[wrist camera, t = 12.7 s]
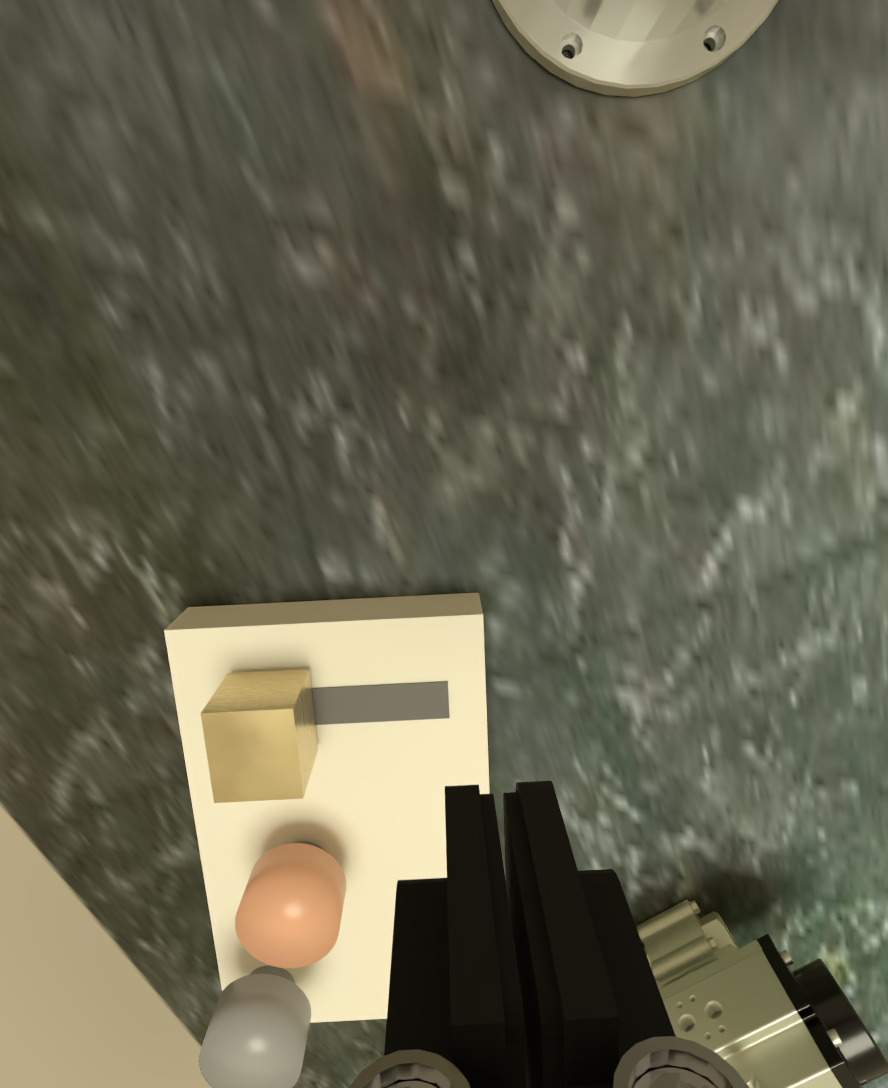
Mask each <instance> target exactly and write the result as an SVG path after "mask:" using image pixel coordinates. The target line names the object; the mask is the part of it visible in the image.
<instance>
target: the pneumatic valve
mask: <svg viewBox="0 0 888 1088" xmlns="http://www.w3.org/2000/svg"><path fill="white" fill-rule="evenodd" d="M700 912H701V911H700V909H699V907H698V905H697V903H696V902H695V901H692V902H689V901H688V900H685V901H683V902H681V903H679V904H677V905H675V906H673V907H671V908H669V909H668V910H666V911H664V912H662V913H660V914H658V915H656V916H654V917H652V918H650V919H649V920H647V921H645V922H643V923H641V924H639V925H637V928H638V929H637V931H638V934H639V936H640V939H641V942H642V943H643V942H644V945H645V947H644V950H645V953H646V956H647V958H648V961H649V964H650V967H651V969H652V972H653V975H654V978H655V980H656V983H657V986H658V989H659V991H660V994H661V997H662V1000H663V1002H664V1005H665V1008H666V1011H667V1013H668V1016H669V1019H670V1022H671V1024H672V1027H673V1030H674V1033H675V1035H676V1037H678V1038H682V1039H687V1040H691V1041H695V1042H697V1043H699V1044H700V1045H702V1046H704V1047H706V1048H708V1049H710V1050H712V1051H714V1052H716V1053H717V1054H718V1055H719V1056H721V1057H722V1058H723V1059H724V1060H725V1061H727V1062H728V1063H729V1064H730V1065H731V1066H732V1067H734V1068H735V1069H736V1071H737V1072H738V1073H739V1075H740V1076H741V1077H742V1079H743V1080H744V1081H745V1083H746V1084H747V1085H748V1087H749V1088H862V1086H863V1085H864V1084H866V1083H869V1082H871V1081H873V1080H875V1079H877V1078H879V1077H881V1076H883V1075H886V1074H888V1062H887V1060H886V1059H885V1057H884V1055H883V1054H882V1052H881V1051H880V1049H879V1047H878V1046H877V1044H876V1043H875V1041H874V1040H873V1038H872V1036H871V1035H870V1033H869V1032H868V1030H867V1029H866V1027H865V1025H864V1024H863V1022H862V1021H861V1019H860V1018H859V1016H858V1015H857V1013H856V1011H855V1010H854V1008H853V1007H852V1005H851V1004H850V1002H849V1001H848V999H847V998H846V996H845V994H844V993H843V991H842V990H841V988H840V987H839V985H838V984H837V982H836V981H835V979H834V978H833V976H832V975H831V973H830V972H829V970H828V969H827V967H826V966H825V964H824V963H823V961H822V960H821V959H816V960H814V961H812V962H810V963H808V964H806V965H804V966H802V967H800V968H798V969H796V970H794V971H791V969H790V968H789V965H791V964H793V963H794V961H793V960H792V958H791V956H790V955H789V953H788V952H787V950H784V951H782V952H779V950H778V949H777V947H776V946H775V944H774V943H773V941H772V939H771V938H770V936H769V935H768V934H766V935H764V936H763V937H761V938H759V939H757V940H755V941H753V942H751V943H749V944H747V945H745V946H743V947H741V948H739V947H738V945H737V944H736V942H735V940H734V938H733V936H732V935H731V933H730V931H729V930H728V928H727V926H726V925H725V923H724V921H723V920H722V918H721V917H720V915H719V914H718V913H717V912H714V911H713V912H711V913H709V914H707V915H706V916H704V917H702V918H699V917H698V913H700Z"/></svg>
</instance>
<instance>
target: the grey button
mask: <svg viewBox="0 0 888 1088" xmlns="http://www.w3.org/2000/svg"><path fill="white" fill-rule="evenodd" d="M310 1021H311V1006H310V1003H309V1000H308V998H307V996H306V995H305V993H304V992H303V991H302V990H301V989H300V988H299V987H298V986H297V985H296V983H295V980H294V978H293V976H292V975H291V974H290V973H289V972H288V971H287V970H285V969H283V968H279V967H274V966H271V965H267V966H262V967H259V968H257V969H255V970H253V971H252V972H251V973H250V974H249V975H247V976H244V977H241V978H239V979H237V980H235V981H233V982H232V983H230V984H229V985H228V986H227V987H226V988H225V989H224V990H223V991H222V993H221V994H220V996H219V998H218V1001H217V1004H216V1007H215V1009H214V1012H213V1015H212V1018H211V1021H210V1024H209V1027H208V1030H207V1033H206V1036H205V1039H204V1042H203V1045H202V1047H201V1050H200V1054H199V1066H200V1070H201V1073H202V1075H203V1077H204V1078H205V1080H206V1082H207V1083H208V1084H209V1085H210V1086H211V1087H212V1088H292V1087H293V1086H294V1085H295V1083H296V1082H297V1080H298V1078H299V1076H300V1073H301V1069H302V1063H303V1058H304V1053H305V1048H306V1042H307V1037H308V1032H309V1026H310Z"/></svg>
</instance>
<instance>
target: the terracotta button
mask: <svg viewBox="0 0 888 1088" xmlns="http://www.w3.org/2000/svg"><path fill="white" fill-rule="evenodd" d="M345 893H346V878H345V874H344V871H343V869H342V867H341V866H340V864H339V863H338V862H337V861H336V859H335V858H334V857H333V856H331V855H330V854H329V853H327V852H326V851H324V850H323V849H322V848H321V847H320V846H318V845H316V844H314V843H311V842H306V841H300V842H295V843H291V844H284V845H280V846H277V847H275V848H273V849H271V850H269V851H267V852H266V853H264V854H263V855H262V856H261V857H260V858H259V859H258V861H257V862H256V863H255V865H254V867H253V869H252V872H251V874H250V877H249V880H248V883H247V885H246V888H245V891H244V894H243V896H242V899H241V902H240V905H239V907H238V910H237V913H236V917H235V930H236V934H237V937H238V939H239V941H240V943H241V945H242V946H243V947H244V949H245V950H246V951H247V952H248V953H249V954H250V955H252V956H253V957H254V958H256V959H257V960H259V961H261V962H263V963H265V964H268V965H271V966H274V967H279V968H300V967H304V966H308V965H311V964H313V963H315V962H317V961H319V960H320V959H322V958H323V957H325V956H326V955H327V954H328V953H329V952H330V951H331V950H332V948H333V947H334V945H335V943H336V941H337V938H338V935H339V929H340V923H341V917H342V911H343V905H344V899H345Z"/></svg>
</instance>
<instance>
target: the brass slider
mask: <svg viewBox="0 0 888 1088" xmlns="http://www.w3.org/2000/svg"><path fill="white" fill-rule="evenodd" d="M200 714H201V720H202V727H203V733H204V740H205V747H206V753H207V760H208V766H209V773H210V779H211V786H212V793H213V799H214V803H226V802H246V801H266V800H285V799H303V798H304V795H305V791H306V788H307V785H308V781H309V778H310V775H311V772H312V768H313V765H314V762H315V758H316V755H317V752H318V745H317V736H316V726H315V717H314V707H313V698H312V688H311V679H310V669H301V670H282V671H262V672H242V673H228V674H227V675H226V676H225V678H224V679H223V681H222V682H221V684H220V685H219V687H218V688H217V690H216V691H215V693H214V694H213V696H212V697H211V699H210V700H209V702H208V703H207V704H206V706H205V707H204V709H203V710H202V712H201V713H200Z"/></svg>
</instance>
